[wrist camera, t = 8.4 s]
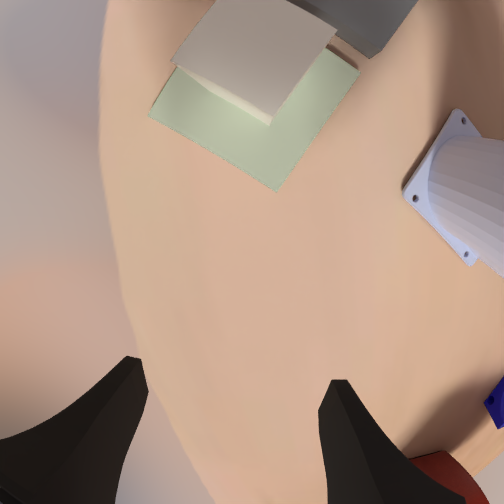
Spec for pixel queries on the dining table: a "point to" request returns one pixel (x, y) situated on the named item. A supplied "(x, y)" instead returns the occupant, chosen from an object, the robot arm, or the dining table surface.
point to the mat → (249, 127)
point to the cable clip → (496, 404)
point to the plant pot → (451, 476)
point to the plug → (253, 52)
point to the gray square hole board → (361, 20)
